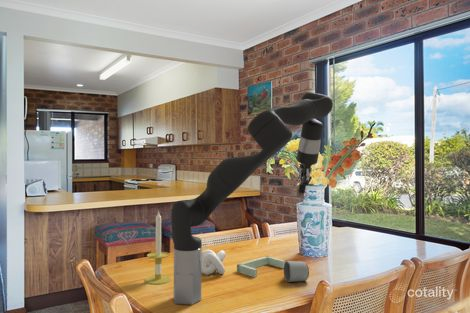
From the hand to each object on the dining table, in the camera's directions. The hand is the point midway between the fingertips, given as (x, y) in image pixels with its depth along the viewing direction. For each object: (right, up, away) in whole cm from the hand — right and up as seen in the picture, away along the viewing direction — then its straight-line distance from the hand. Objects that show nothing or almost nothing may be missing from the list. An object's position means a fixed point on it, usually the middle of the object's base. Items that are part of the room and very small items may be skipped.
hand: (301, 192), depth 136 cm
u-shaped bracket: (-14, -35, +18) cm, 41 cm away
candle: (-55, -35, +5) cm, 65 cm away
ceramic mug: (-2, -35, +6) cm, 35 cm away
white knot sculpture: (-33, -35, +13) cm, 50 cm away
